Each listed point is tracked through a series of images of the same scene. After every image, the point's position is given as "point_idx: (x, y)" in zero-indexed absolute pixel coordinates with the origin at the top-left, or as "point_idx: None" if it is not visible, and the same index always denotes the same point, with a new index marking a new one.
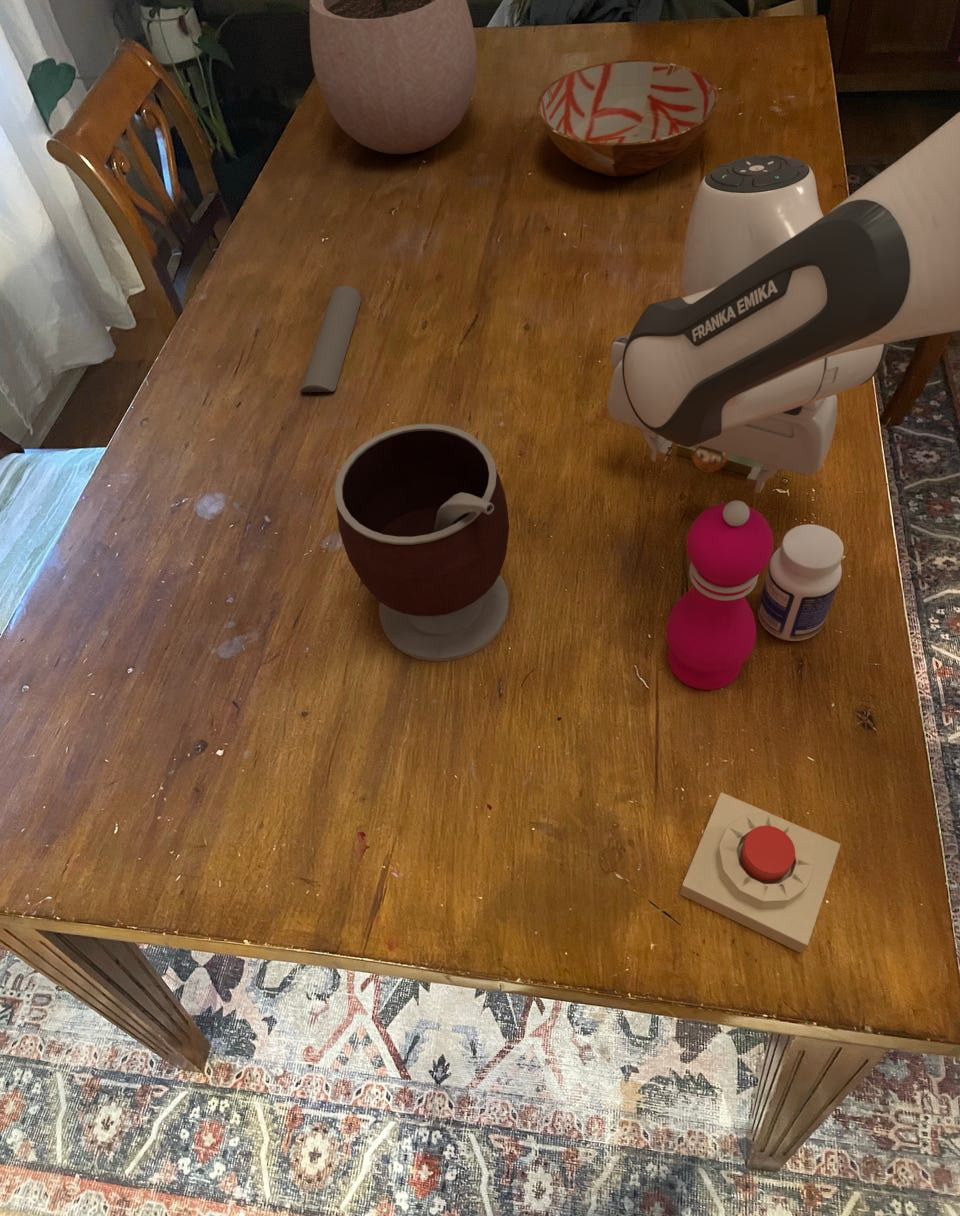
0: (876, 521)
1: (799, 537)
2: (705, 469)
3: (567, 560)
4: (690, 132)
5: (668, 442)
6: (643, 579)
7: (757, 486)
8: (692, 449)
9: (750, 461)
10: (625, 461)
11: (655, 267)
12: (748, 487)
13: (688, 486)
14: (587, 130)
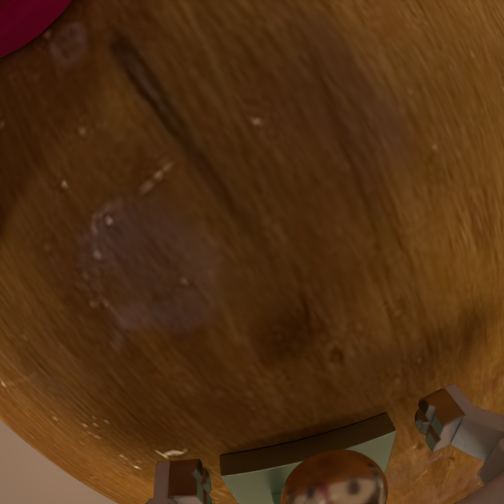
0: (38, 448)
1: None
2: (323, 466)
3: (456, 36)
4: None
5: (442, 445)
6: (278, 52)
7: (164, 480)
8: (367, 442)
9: (253, 478)
10: (461, 345)
11: (452, 496)
12: (187, 467)
13: (336, 382)
14: None
